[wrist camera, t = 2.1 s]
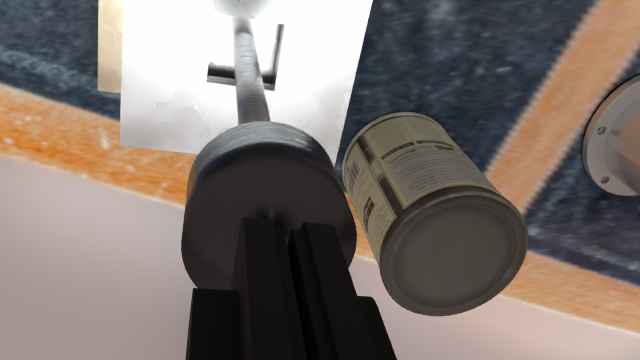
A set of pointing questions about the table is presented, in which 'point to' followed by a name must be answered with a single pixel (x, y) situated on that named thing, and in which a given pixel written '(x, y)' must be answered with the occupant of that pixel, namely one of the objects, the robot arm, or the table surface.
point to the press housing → (218, 92)
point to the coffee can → (431, 216)
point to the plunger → (255, 163)
